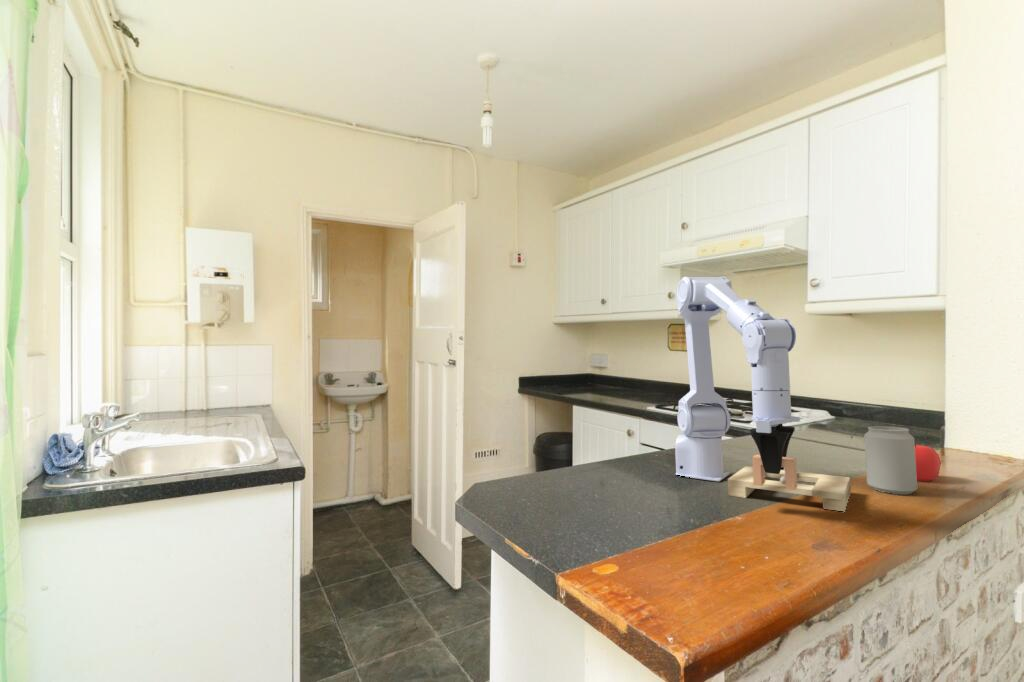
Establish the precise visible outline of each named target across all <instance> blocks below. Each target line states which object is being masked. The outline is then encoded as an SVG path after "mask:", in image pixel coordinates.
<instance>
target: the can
mask: <svg viewBox="0 0 1024 682" xmlns="http://www.w3.org/2000/svg"><path fill="white" fill-rule="evenodd" d="M867 429H868V431H866V432H865V433H864V435H863V437H864V439H863V440H864V452H865V453H864V455H865V471H866V484H867V485H868V486H869V487H871V488H872V489H873V488H874V489H877V490H880V491H884V492H889V493H892V494H891V495H899V494H900V495H901V496H903V495H904V496H905V495H906V496H907V495H912V494H913V493H914V492H916V491H917V490H918V481H917V474H916V459H915V444H914V440H915V437H914V436H913V435H912V434H910V433H909V431H910V429H909V428H906V427H900V426H888V425H887V426H886V425H885V426H884V425H882V426H881V425H880V426H879V425H877V426H876V425H874V426H868V427H867ZM874 489H873V490H874ZM884 492H883V493H884ZM889 493H888V494H889Z"/></svg>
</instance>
